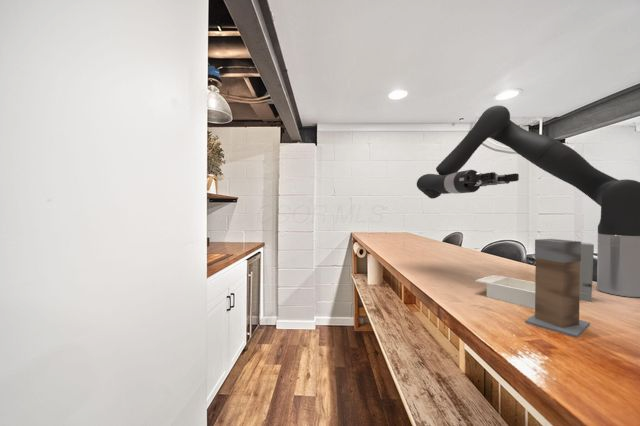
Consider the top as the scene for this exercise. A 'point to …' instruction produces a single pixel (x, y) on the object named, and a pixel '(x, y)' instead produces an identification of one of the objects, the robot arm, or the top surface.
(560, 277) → the capped block
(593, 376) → the top surface
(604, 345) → the top surface
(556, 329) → the mat
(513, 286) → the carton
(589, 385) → the top surface
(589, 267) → the skincare box
